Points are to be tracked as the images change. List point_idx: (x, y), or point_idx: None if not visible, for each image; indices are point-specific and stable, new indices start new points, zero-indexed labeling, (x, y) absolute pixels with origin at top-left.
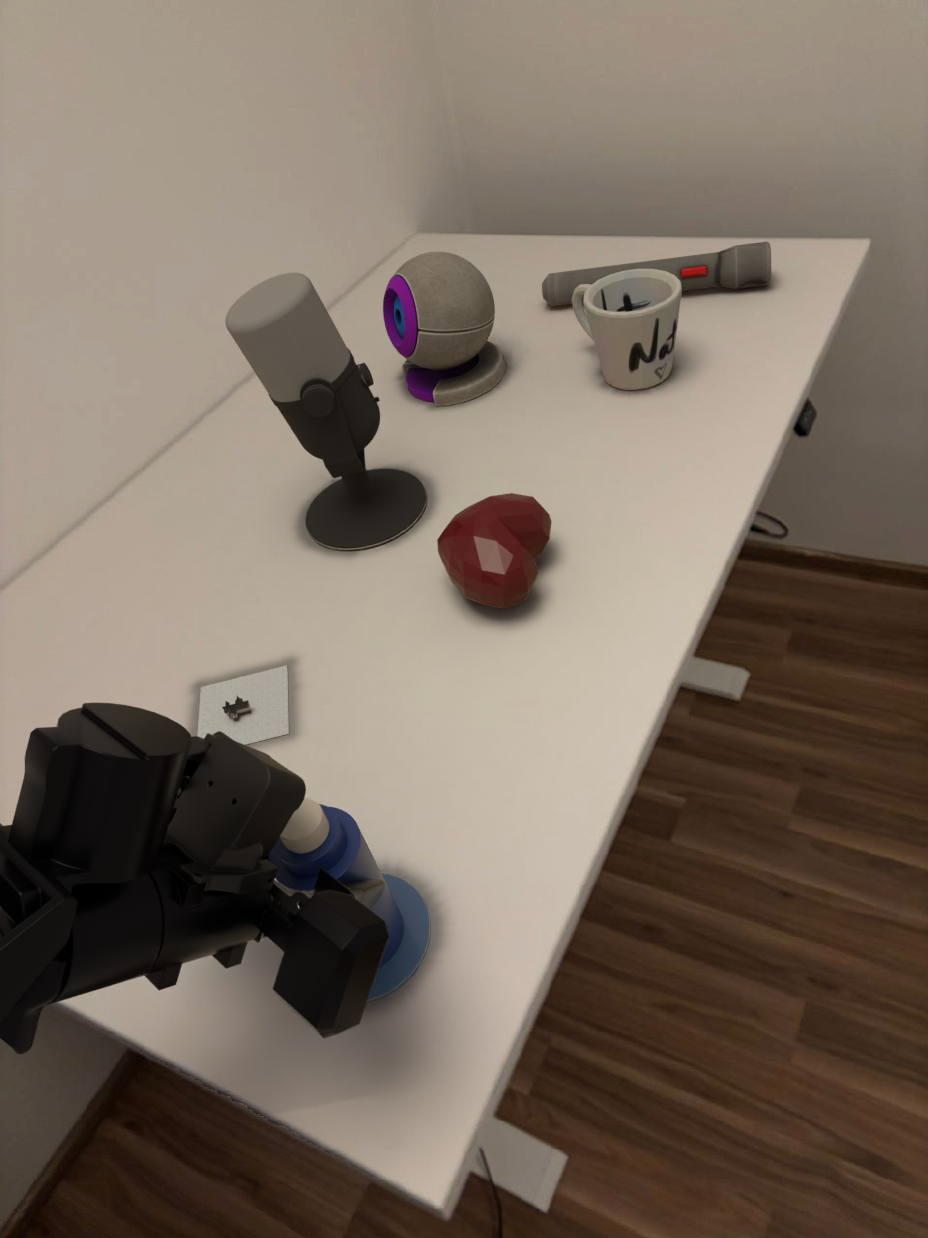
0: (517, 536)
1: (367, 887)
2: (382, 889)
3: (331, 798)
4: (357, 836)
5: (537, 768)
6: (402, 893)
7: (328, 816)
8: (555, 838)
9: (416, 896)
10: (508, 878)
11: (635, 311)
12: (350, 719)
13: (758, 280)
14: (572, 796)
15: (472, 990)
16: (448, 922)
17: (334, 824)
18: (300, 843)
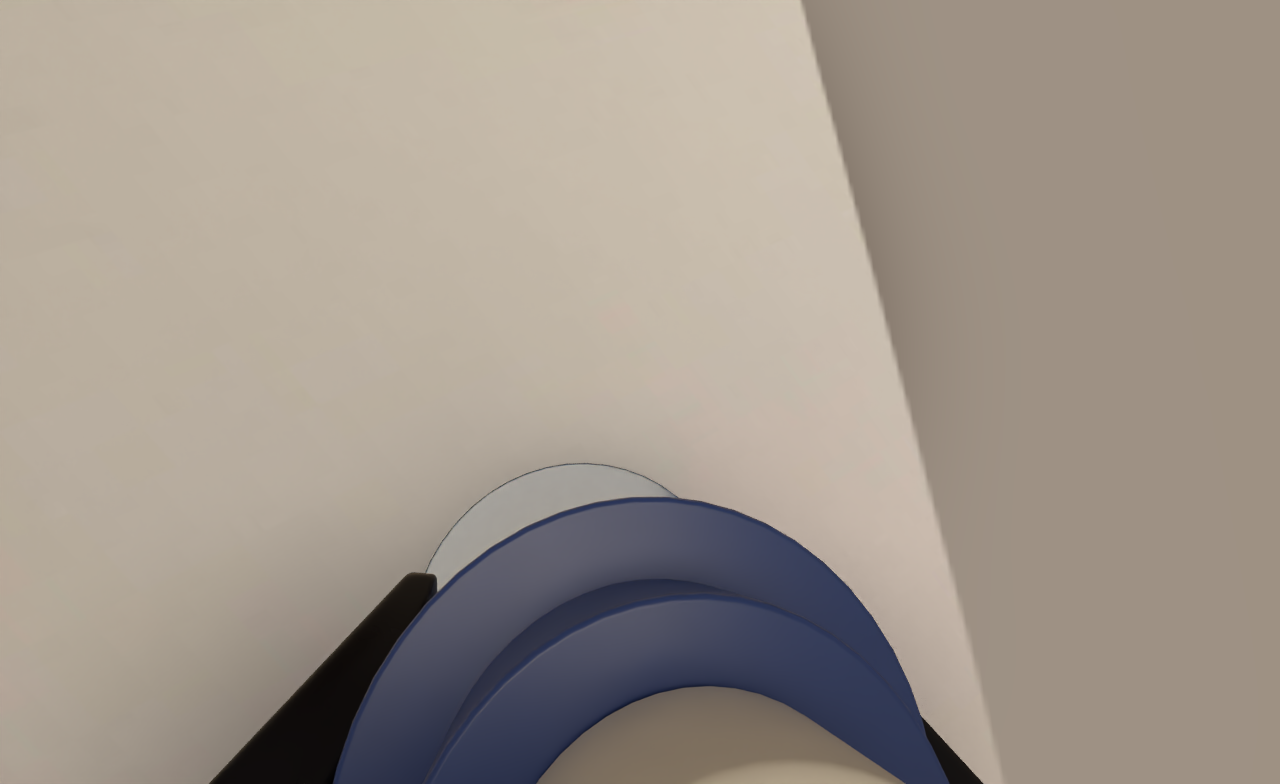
0: None
1: (931, 735)
2: None
3: (246, 363)
4: (837, 593)
5: (674, 120)
6: (600, 492)
7: (752, 665)
8: (795, 240)
9: (635, 482)
10: (770, 351)
11: None
12: (145, 146)
13: None
14: (769, 151)
15: (855, 589)
16: (725, 493)
17: (846, 697)
18: None
